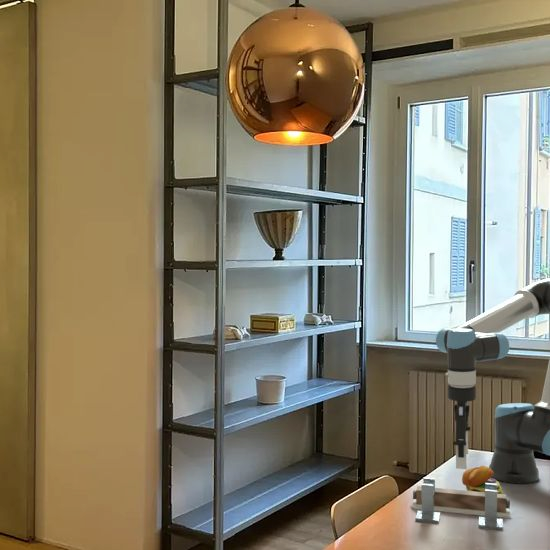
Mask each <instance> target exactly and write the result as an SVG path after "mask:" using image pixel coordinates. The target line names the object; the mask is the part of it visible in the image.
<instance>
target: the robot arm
mask: <svg viewBox="0 0 550 550" xmlns="http://www.w3.org/2000/svg"><path fill="white" fill-rule="evenodd" d="M539 315H540V316H541V315H550V277H548V278H544V279H541V280H538V281H536V282H534V283H531V284H529V285H527V286H524V287H523V288H521V289H519V290H517V291H516V292H515V293H514V295H513V297H511V298H508V299H507V300H505V301H504V302H502V303H500V304H498V305H496V306H494V307H492V308H490V309H488V310H486V311H485V312H482V313H481V314H479V315H477V316H475V317H474V318H472V319H470V320H468V321H466V322H464V323H462V324H460V325H458V326H456V327H454V328H452V327H445V328H441V329H440V330H439V331H437V334H436V335H435V336H436V337H435V344H436V347H437V349H438V350H439V351H440V352H442V353H445V354H447V356H446V359H447V372H445V374H444V375H445V376H446V377H447V384H448V386H447V398H448V400H450V401H453V402H455V401H456V404H454V407H453V408H454V409H453V411H454V421H455V441H452V442H453V446H455V468H456V470H457V469H460V470H468V469H467V466H468V465H467V455H469V432H471V426H469V423H468V422H469V416H470V415H469V414H470V405H469V404H468V402H472V401H475V400H476V398H477V397H476V394H477V390H476V389H477V388H476V386H475V385H476V384H477V370H476V369H477V367H476V363H478V362H485V361H497V360H499V359H500V360H501V359H504V358H505V357H507V355H508V354H509V352H510V343H509V340H508V337H507V336H506V335H505V334H503V333H501V332H503V331H505V330H506V329H509V328H510V327H512V326H514V325H516V324H518V323H519V322H522V320H525V319H532V318H536V317H538V316H539ZM544 379H545V380H544V383H543V385H544V386H543V389H542V394H541V400H539V402H537V403H536V404H534V405H533V404H532V403H527V402H525V403H523V402H518V403H517V402H514V403H513V402H512V403H511V402H510V403H503V404H499V405H498V406H496V407H495V409H494V410H495V412H494V414H495V415H494V451H493V455H492V457H491V460H490V464H489V466H488V468H490V469H491V470H492V471H493V472H494V474H493V476H492V477H491V479H496V481H501V482H505V483H511V484H531V483H535V482H537V481H539V478H540V471H539V469H538V468H537V462H536V459H535V456H534V452H537V453H541V454H545V456H550V358H549V359H548V365H547V370H546V375H545V378H544Z"/></svg>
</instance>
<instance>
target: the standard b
mask: <svg viewBox="0 0 550 550" xmlns="http://www.w3.org/2000/svg"><path fill="white" fill-rule="evenodd" d="M503 519H504V518H498V517H497V484H493V483H485V516H478V528H479V529H484V530H485V529H487V530H497V531H504V521H503Z"/></svg>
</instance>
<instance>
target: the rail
mask: <svg viewBox="0 0 550 550" xmlns="http://www.w3.org/2000/svg"><path fill="white" fill-rule="evenodd" d="M414 499H416V504H419V505H422V499H421V486H420V485H419V486H418V485H417V488H416V490H413V491H412V500H414ZM434 506H439V507H449V508H459V509H469V510H479V511H485V492H475V491H467V490H463V489H462V490H461V489H452V488H451V489H450V488H441V487H435V494H434ZM506 508H508V509H510V510H511V499H509V498H508V499H507V494H505V493H503V494H497V512H500V513H506Z"/></svg>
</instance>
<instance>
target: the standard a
mask: <svg viewBox="0 0 550 550" xmlns="http://www.w3.org/2000/svg"><path fill="white" fill-rule="evenodd" d="M422 482H423V483H421V499H422V509H421V510H420V509H417V512H416V516H415V522H420V523H421V522H422V523H430V524H439V523H440V518H441V512H439V511H434V494H435V488H436V478H435V477H427V476H426V477H425V476H424V477H423V479H422Z"/></svg>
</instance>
